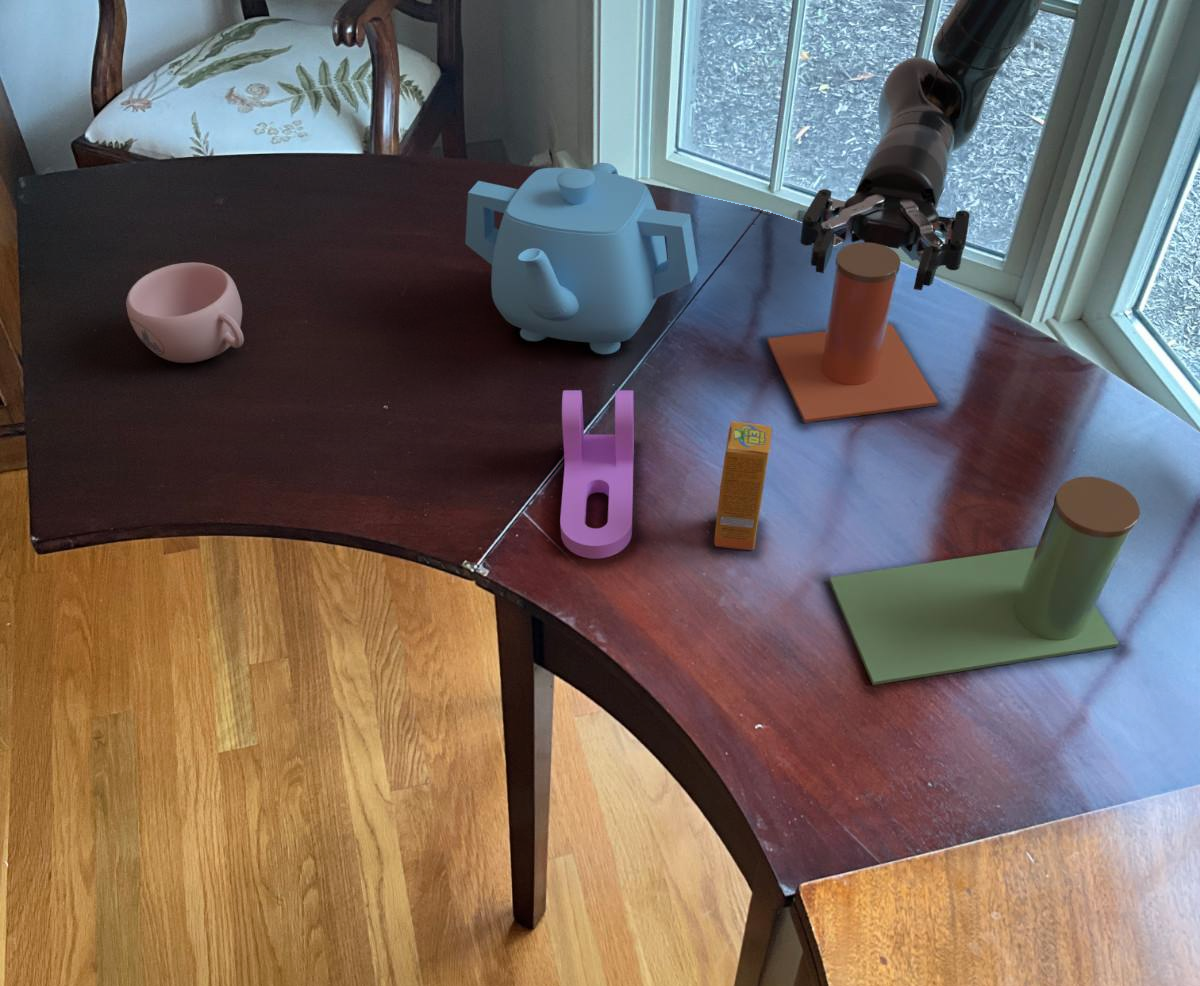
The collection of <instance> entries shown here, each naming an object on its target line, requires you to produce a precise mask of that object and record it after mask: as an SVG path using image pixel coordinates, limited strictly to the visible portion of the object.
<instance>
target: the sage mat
mask: <svg viewBox="0 0 1200 986" xmlns="http://www.w3.org/2000/svg"><path fill="white" fill-rule="evenodd" d="M1036 548H1037V546H1033V547H1026V548H1019V549H1013V550H1006V551H999V552H991V553H986V554H978V555H972V556H964V557H957V558H952V559H945V560H937V561H932V562H924V563H917V564H911V565H904V566H896V567H890V568H882V569H876V570H871V571H863V572H857V573H849V574H842V575H837V576H836V575H835V576H830V577H829V578H828V582H829V585H830V587H831V590H832V591H833V594H834V596H835V600H836V601H837V605H838V606H839V608H840V611H841V613H842V617H843V618H844V620H845V622H846V625H847V627H848V630H849V632H850V635H851V637H852V639H853V642H854V644H855V646H856V649H857V652H858V654H859V657H860V659H861V661H862V663H863V666H864V668H865V670H866V673H867V675H868V678H869V680H870V683H871V684H872V686H876V685H882V684H888V683H894V682H902V681H908V680H912V679H919V678H920V679H921V678H927V677H933V676H940V675H946V674H952V673H958V672H964V671H971V670H977V669H984V668H990V667H996V666H1002V665H1003V666H1004V665H1010V664H1016V663H1023V662H1028V661H1036V660H1041V659H1047V658H1054V657H1060V656H1066V655H1074V654H1080V653H1085V652H1092V651H1099V650H1104V649H1105V650H1106V649H1111V648H1117V647H1118V646H1119V641H1118V639H1117V638H1116V637H1115V635H1114V633H1113V632H1112V630H1111V629H1110V627H1109V625H1108V624H1107V622H1106V621H1105V619H1104V617H1103V616H1102V614H1101V612H1100V611H1099V610H1098V608H1097V605H1095V608H1094V610H1093V612H1092V614H1091V616H1090V618H1089V620H1088V622H1087V625H1086V627H1085V629H1084V630H1083V631H1082V632H1081V633H1080V634H1079V635H1077V636H1075V637H1073V638H1071V639H1066V640H1052V639H1047V638H1043V637H1040V636H1038V635H1036V634H1034V633H1032V632H1031V631H1029V630H1028V629H1026V628H1025V627H1024V626H1023V625H1022V624H1021V622H1020V621H1019V620H1018V618H1017V616H1016V613H1015V603H1016V600H1017V597H1018V595H1019V592H1020V589H1021V587H1022V584H1023V582H1024V579H1025V577H1026V574H1027V571H1028V569H1029V566H1030V564H1031V561H1032V558H1033V556H1034V553H1035V551H1036Z"/></svg>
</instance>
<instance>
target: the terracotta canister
mask: <svg viewBox="0 0 1200 986" xmlns="http://www.w3.org/2000/svg"><path fill="white" fill-rule="evenodd" d="M900 268H901V257H900V255H899V254H898V253H897V252H896V251H895V250H894V249H893V248H890V247H887V246H884V245H880V244H876V243H867V242H863V243H854V244H850V245H848V246H845V247H844V248H842V247H841V249H839V250H838V252H837V254H836V257H835V271H834V272H835V273H834V280H833V286H832V292H831V300H830V305H829V313H828V318H827V325H826V330H825V331H826V338H825V344H824V351H823V358H822V364H821V367H822V371H823V372H824V374H825V375H826V376H827V377H828V378H830V379H831V380H833V381H835V382H838V383H841V384H846V385H860V384H864V383H867V382H869V381H871V380H872V379H873V378H874V377H875V376H876V375H877V372H878V367H879V362H880V357H881V352H882V347H883V342H884V337H885V332H886V327H887V323H889V317H890V312H891V306H892V302H893V297H894V291H895V286H896V281H897V276H898V273H899V271H900Z"/></svg>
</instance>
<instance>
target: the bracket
mask: <svg viewBox="0 0 1200 986" xmlns="http://www.w3.org/2000/svg"><path fill="white" fill-rule="evenodd" d="M561 399H562V400H561V426H562V427H561V428H562V441H563V442H562V443H563V456H564V457H563V458H564V470H563V479H562V480H563V481H562V482H563V484H562V493H561V494H562V495H561V505H560V519H559V523H560V525H559V526H560V538H561V541H562V543H563V545H564V546H565V548H567V549H568V550H569V551H570V552H571V553H573V554H574V555H576V556H579V557H582V558H585V559H606V558H609V557H612V556H614V555H617V554H619V553H620V552H622V551H623V550H625V548H626V547H627V546H628V545H629V543H630V542H631V539H632V536H633V504H634V503H633V502H634V501H633V500H634V496H633V495H634V494H633V493H634V456H635V455H634V452H635V445H634V444H635V443H634V442H635V439H634V436H635V434H634V433H635V432H634V431H635V429H634V424H635V423H634V421H635V419H634V417H635V416H634V414H635V413H634V408H635V407H634V390H633V389H632V390H631V389H629V390H628V389H627V390H625V389H622V390H621V389H619V390H617V389H615V396H614V399H615V400H614V434H585V431H584V429H585V428H584V411H583V410H584V408H583V393H582V389H578V390H575V389H572V390H571V389H570V390H569V389H568V390H567V389H565V390H563V391H562V398H561ZM597 493H600V494H601V493H602V494H605V495H606V496H607V497H608V506H607V508H608V510H607V523H606V524H605V525H603V526H602V527H599V528H593V527H589V526H588V525H587V524H586V517H587V502H588V501H587V500H588V498H589V497H590V495H593V494H597Z"/></svg>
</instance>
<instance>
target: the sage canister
mask: <svg viewBox="0 0 1200 986" xmlns="http://www.w3.org/2000/svg"><path fill="white" fill-rule="evenodd" d="M1056 490H1057V491H1056V492H1055V495H1054V499H1053V504H1052V506H1051V510H1050V512H1049V515H1048V517H1047V520H1046V522H1045V525H1044V528H1043V530H1042V533H1041V535H1040V538H1039V541H1038V544H1037V545H1036V547H1037V548H1036V551H1035V553H1034V556H1033V558H1032V561H1031V564H1030V566H1029V569H1028V571H1027V574H1026V577H1025V579H1024V582H1023V584H1022V587H1021V589H1020V592H1019V595H1018V597H1017V600H1016V603H1015V613H1016V616H1017V618H1018V620H1019V621H1020V622H1021V624H1022V625H1023V626H1024V627H1025V628H1026V629H1028V630H1029V631H1031V632H1032V633H1034V634H1036V635H1038V636H1040V637H1043V638H1047V639H1052V640H1066V639H1071V638H1073V637H1075V636H1077V635H1079V634H1080V633H1081V632H1082V631H1083V630H1084V629H1085V627H1086V625H1087V622H1088V620H1089V618H1090V616H1091V614H1092V612H1093V610H1094V608H1095V606H1097V603H1098V601H1099V599H1100V597H1101V595H1102V593H1103V591H1104V589H1105V587H1106V584H1107V583H1108V580H1109V578H1110V575H1111V574H1112V572H1113V570H1114V568H1115V565H1116V563H1117V561H1118V559H1119V558H1120V557H1119V556H1120V554H1121V552H1122V550H1123V548H1124V547H1125V544H1126V542H1127V540H1128V538H1129V535H1130V534H1131V532H1132V530H1133V529H1134V528H1135V526H1136V525H1137V522H1138V520H1139V518H1140V514H1141V511H1140V510H1141V508H1140V505H1139V502H1138V500H1137V499H1136V497H1135V496H1134V495H1133V494H1132V493H1131V491H1130V490H1128V489H1127V488H1125V487H1124V486H1122V485H1121V484H1119V483H1116V482H1115V481H1112V480H1109V479H1107V478H1102V477H1098V476H1078V477H1073V478H1070V479H1068V480H1066V481H1065V482H1063V483H1062V484H1060V486H1059V487H1058V488H1057V489H1056Z"/></svg>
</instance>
